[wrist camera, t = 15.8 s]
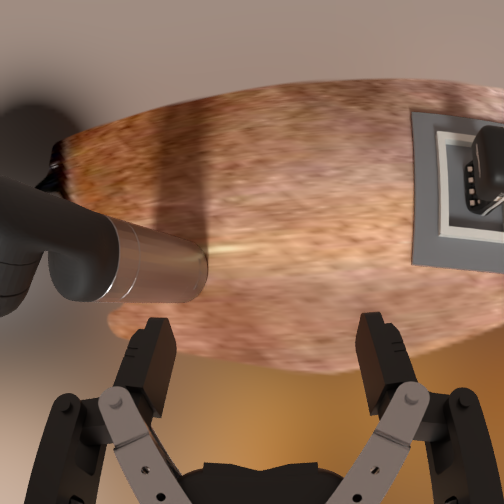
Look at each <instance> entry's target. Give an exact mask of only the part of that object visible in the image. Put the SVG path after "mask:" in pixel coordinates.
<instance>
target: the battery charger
mask: <svg viewBox="0 0 504 504" xmlns="http://www.w3.org/2000/svg"><path fill="white" fill-rule="evenodd" d="M471 149H472V158H473V160H472V161H470V162H469V163H468V164H467V165H466V166H465V170H464V174H465V190H466V205H467V208H468V210H469V211H470V212H472V213H474V214H478V215H481V216H484V215H488V214H489V213H490V212H492V211H493V210H494V209H495V208H497V207H498V206H500V205H501V204H503V203H504V127H503V126H501V127H498V126H493V125H486V126H483V127H482V128H481V129H480V130H479V132H478V133H477V135H476V137H475V138H474V140H473V143H472V145H471Z"/></svg>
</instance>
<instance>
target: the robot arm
mask: <svg viewBox="0 0 504 504" xmlns="http://www.w3.org/2000/svg"><path fill="white" fill-rule="evenodd" d="M44 251H48V264H49V271H50V276H51V279H52V282H53V284H54V286H55V288H56V289H57V291H58V292H59V293H60V294H61V295H62V296H63V297H64V298H66V299H68V300H72V301H79V302H121V303H185V302H188V301H191V300H192V299H194V298H195V297H196V296H197V295H198V294H199V293H200V292H201V291H202V289H203V287H204V285H205V283H206V279H207V271H208V267H207V261H206V258H205V255H204V253H203V252H202V250H201V249H200V248H199V247H198V245H196V244H195V243H193V242H191V241H188V240H185V239H182V238H178V237H175V236H172V235H169V234H166V233H162V232H159V231H156V230H153V229H149V228H146V227H143V226H140V225H136V224H133V223H130V222H126V221H123V220H119V219H116V218H113V217H110V216H106V215H103V214H100V213H97V212H94V211H91V210H89V209H86V208H84V207H82V206H80V205H78V204H75V203H73V202H70V201H68V200H65V199H62V198H59V197H56V196H53V195H50V194H48V193H46V192H43V191H40V190H38V189H35V188H33V187H31V186H28V185H26V184H23V183H21V182H18V181H16V180H13V179H11V178H8V177H5V176H1V175H0V317H3V316H5V315H8V314H9V313H11V312H12V311H14V310H16V309H17V308H18V306H19V305H20V304H21V302H22V301H23V300H24V298H25V296H26V295H27V293H28V290H29V287H30V285H31V282H32V280H33V276H34V275H35V272H36V270H37V267H38V265H39V262H40V260H41V258H42V255H43V253H44ZM355 347H356V353H357V357H358V362H359V366H360V370H361V375H362V379H363V383H364V388H365V392H366V397H367V402H368V407H369V412H370V416H372V415H378V416H379V420H380V422H379V424H378V425H377V427H376V429H375V430H374V432H373V434H372V436H371V437H370V439H369V441H368V442H367V444H366V446H365V447H364V449H363V450H362V452H361V453H360V455H359V457H358V458H357V460H356V461H355V463H354V464H353V466H352V467H351V469H350V470H349V472H348V473H347V475H346V476H345V477H344V478H343V477H342V476H340V475H338V474H336V473H334V472H332V471H329V470H326V469H321V468H318V463H317V462H314V463H300V464H299V463H298V464H287V465H284V466H280V467H276V468H272V469H267V470H263V471H257V470H252V469H248V468H245V467H240V466H237V465H233V464H220V463H204V467H203V469H198V470H194V471H191V472H189V473H187V474H185V475H183V476H182V475H181V473H180V472H179V470H178V469H177V467H176V466H175V464H174V463H173V462H172V460H171V459H170V457H169V455H168V454H167V452H166V451H165V449H164V447H163V445H162V444H161V442H160V440H159V438H158V437H157V435H156V433H155V431H154V430H153V428H152V426H151V422H152V418H153V417H157V418H161V416H162V412H163V408H164V403H165V399H166V394H167V390H168V386H169V382H170V378H171V373H172V369H173V365H174V361H175V357H176V350H177V348H176V341H175V338H174V335H173V332H172V329H171V326H170V323H169V320H168V318H153V317H150V318H149V319H148V322H147V324H146V327H145V329H138V330H137V332H136V333H135V334H134V335H133V336H132V337H131V339H130V342H129V344H128V347H127V350H126V352H125V357H124V358H123V360H122V363H121V365H120V368H119V371H118V374H117V376H116V379H115V382H114V385H113V387H111V388H108V389H107V390H105V391H104V392H103V393H102V394H101V396H100V397H98V398H93V399H86V400H80V399H79V398H78V397H77V396H76V395H74V394H71V393H66V394H63V395H61V396H59V397H58V398H57V399H56V400H55V401H54V403H53V406H52V408H51V411H50V414H49V417H48V420H47V423H46V426H45V429H44V432H43V435H42V439H41V442H40V445H39V448H38V451H37V455H36V458H35V462H34V465H33V469H32V473H31V476H30V480H29V484H28V488H27V493H26V497H25V501H24V504H96V498H97V492H98V487H99V481H100V476H101V470H102V466H103V461H104V456H105V451H106V446H107V444H110V443H114V445H115V448H114V453H115V455H116V458H117V460H118V462H119V464H120V466H121V468H122V470H123V472H124V475H125V477H126V479H127V480H128V482H129V484H130V486H131V488H132V490H133V492H134V494H135V496H136V498H137V499H138V501H139V503H140V504H380V503H381V501H382V500H383V498H384V496H385V495H386V493H387V491H388V490H389V488H390V486H391V485H392V483H393V481H394V479H395V477H396V476H397V474H398V472H399V470H400V468H401V467H402V465H403V463H404V461H405V459H406V457H407V455H408V453H409V451H410V448H411V447H410V444H411V442H412V440H418V441H425V445H426V451H427V457H428V463H429V470H430V476H431V483H432V490H433V499H434V504H504V498H503V492H502V487H501V482H500V477H499V472H498V468H497V463H496V459H495V455H494V451H493V447H492V443H491V439H490V436H489V432H488V429H487V426H486V422H485V419H484V415H483V412H482V409H481V406H480V403H479V400H478V397H477V395H476V394H475V393H474V392H473V391H472V390H470V389H468V388H457V389H455V390H454V391H453V392H452V393H451V394H450V395H446V394H438V393H432V392H429V391H427V389H426V388H425V387H424V386H423V385H421V384H420V383H418V381H417V379H416V376H415V373H414V370H413V367H412V364H411V361H410V359H409V356H408V353H407V351H406V348H405V345H404V343H403V340H402V337H401V334H400V332H399V330H398V329H397V328H396V327H395V326H394V325H393V324H392V323H386V324H384V321H383V318H382V315H381V313H380V312H369V313H362V314H361V317H360V321H359V326H358V330H357V335H356V340H355Z"/></svg>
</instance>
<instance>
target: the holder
mask: <svg viewBox="0 0 504 504" xmlns="http://www.w3.org/2000/svg"><path fill="white" fill-rule="evenodd" d="M411 120H412V133H413V151H414V231H413V249H412V263H411V265H415V266H426V267H436V268H447V269H457V270H468V271H478V272H489V273H499V274H504V203H503V204H501V205H500V206H498V207H497V208H495V209H494V210H493V211H492V212H490V213H489V214H488V215H484V216H481V215H478V214H474V213H472V212H470V211H469V210H468V208H467V205H466V190H465V174H464V170H465V166H466V165H467V164H468V163H469V162H470V161H472V160H473V158H472V149H471V145H472V143H473V140H474V138H475V137H476V135H477V133H478V132H479V130H480V129H481V128H482V127H483V126H486V125H493V126H498V127H501V126H503V127H504V124H501V123H495V122H490V121H484V120H478V119H471V118H464V117H457V116H449V115H441V114H431V113H421V112H412V114H411Z"/></svg>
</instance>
